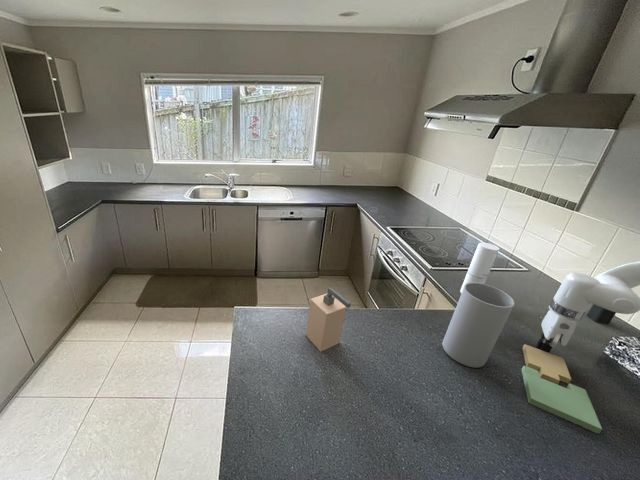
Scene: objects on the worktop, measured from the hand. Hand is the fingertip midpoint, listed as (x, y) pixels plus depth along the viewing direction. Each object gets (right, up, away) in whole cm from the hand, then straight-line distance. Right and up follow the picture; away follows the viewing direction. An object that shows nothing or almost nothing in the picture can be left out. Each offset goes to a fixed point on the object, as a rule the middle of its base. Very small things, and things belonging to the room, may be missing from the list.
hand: (541, 350), depth 98 cm
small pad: (-5, -3, -6) cm, 8 cm away
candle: (+42, +5, +18) cm, 46 cm away
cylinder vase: (-29, -1, -1) cm, 29 cm away
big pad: (-12, -7, -16) cm, 21 cm away
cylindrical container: (-2, +12, +31) cm, 33 cm away
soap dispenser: (-76, +2, +1) cm, 76 cm away
